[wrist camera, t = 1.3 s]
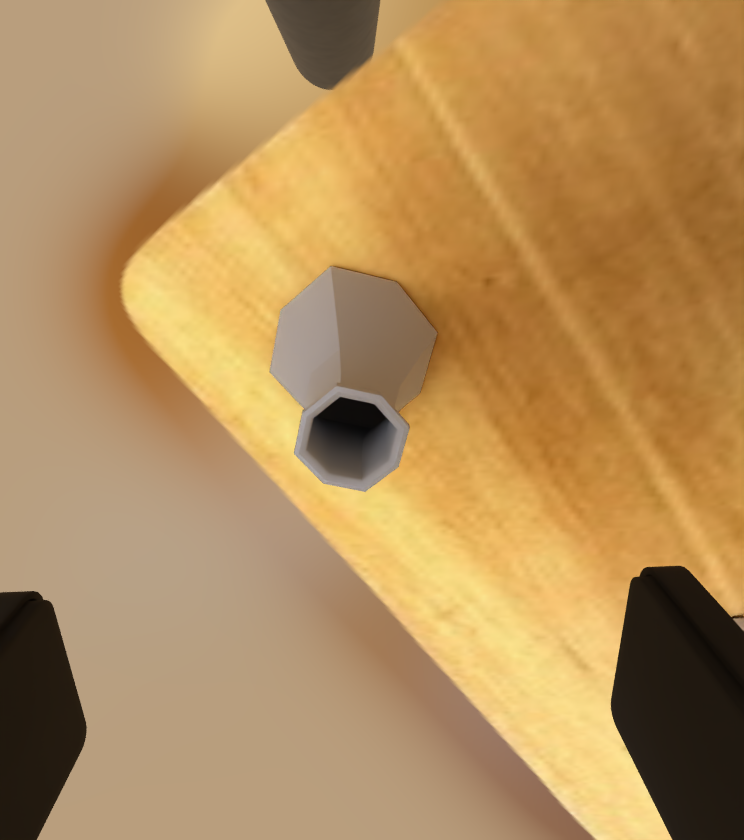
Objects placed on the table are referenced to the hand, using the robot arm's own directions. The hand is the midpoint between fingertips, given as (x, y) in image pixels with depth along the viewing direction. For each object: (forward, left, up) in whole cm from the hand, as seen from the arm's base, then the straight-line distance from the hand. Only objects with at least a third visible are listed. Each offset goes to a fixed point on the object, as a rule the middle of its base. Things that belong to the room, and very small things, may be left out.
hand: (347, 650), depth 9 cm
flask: (0, 0, -18) cm, 18 cm away
